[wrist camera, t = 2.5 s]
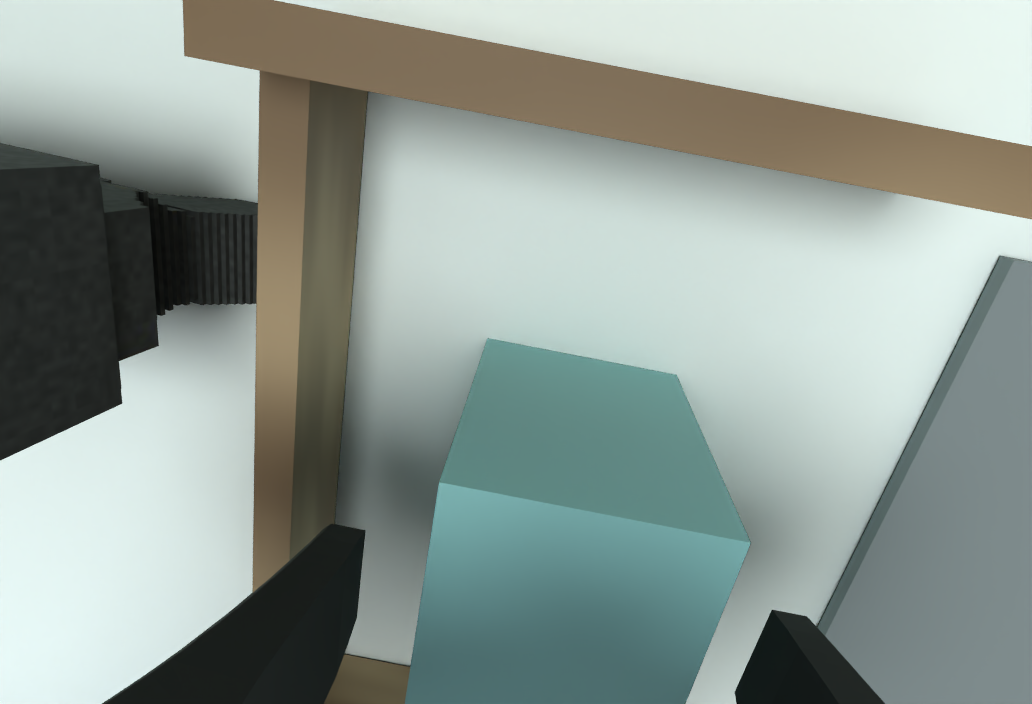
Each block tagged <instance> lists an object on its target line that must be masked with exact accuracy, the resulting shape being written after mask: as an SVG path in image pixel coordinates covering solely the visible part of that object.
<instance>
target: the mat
mask: <svg viewBox="0 0 1032 704" xmlns="http://www.w3.org/2000/svg"><path fill="white" fill-rule="evenodd" d="M817 628H818V629H819V630H820V631H821V632H822V633H823V634H824V635H825V636H826V638H827V639H828V640H829V641H830V642H831V643H832V644H833V645H834V646H835V648H836V649H837V650H838V651H839V652H840V653H841V654H842V655H843V657H844V658H845V659H846V660H847V661H848V662H849V663H850V664H851V666H852V667H853V668H854V669H855V670H856V671H857V672H858V674H859V675H860V676H861V677H862V678H863V679H864V680H865V681H866V683H867V684H868V685H869V686H870V687H871V688H872V689H873V690H874V692H875V693H876V694H877V695H878V696H879V697H880V698H881V699H882V701H883V702H884V703H885V704H1032V262H1030V261H1024V260H1019V259H1014V258H1009V257H1004V256H1000V258H999V260H998V262H997V264H996V266H995V268H994V270H993V272H992V274H991V276H990V278H989V281H988V283H987V285H986V287H985V289H984V291H983V293H982V295H981V297H980V299H979V301H978V303H977V305H976V307H975V309H974V311H973V313H972V315H971V317H970V319H969V321H968V323H967V325H966V327H965V329H964V331H963V333H962V335H961V337H960V339H959V341H958V343H957V345H956V347H955V349H954V351H953V353H952V355H951V358H950V360H949V362H948V364H947V366H946V368H945V370H944V372H943V374H942V376H941V378H940V380H939V382H938V384H937V386H936V388H935V390H934V392H933V394H932V396H931V398H930V400H929V402H928V404H927V406H926V408H925V410H924V412H923V414H922V416H921V418H920V420H919V422H918V424H917V426H916V428H915V430H914V432H913V434H912V437H911V439H910V441H909V443H908V445H907V447H906V449H905V451H904V453H903V455H902V457H901V459H900V461H899V463H898V465H897V467H896V469H895V471H894V473H893V475H892V477H891V479H890V481H889V483H888V485H887V487H886V489H885V491H884V493H883V495H882V497H881V499H880V501H879V503H878V505H877V507H876V509H875V511H874V514H873V516H872V518H871V520H870V522H869V524H868V526H867V528H866V530H865V532H864V534H863V536H862V538H861V540H860V542H859V544H858V546H857V548H856V550H855V552H854V554H853V556H852V558H851V560H850V562H849V564H848V566H847V568H846V570H845V572H844V574H843V576H842V578H841V580H840V582H839V584H838V586H837V588H836V591H835V593H834V595H833V597H832V599H831V601H830V603H829V605H828V607H827V609H826V611H825V613H824V615H823V617H822V619H821V621H820V623H819V625H818V627H817Z"/></svg>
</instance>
